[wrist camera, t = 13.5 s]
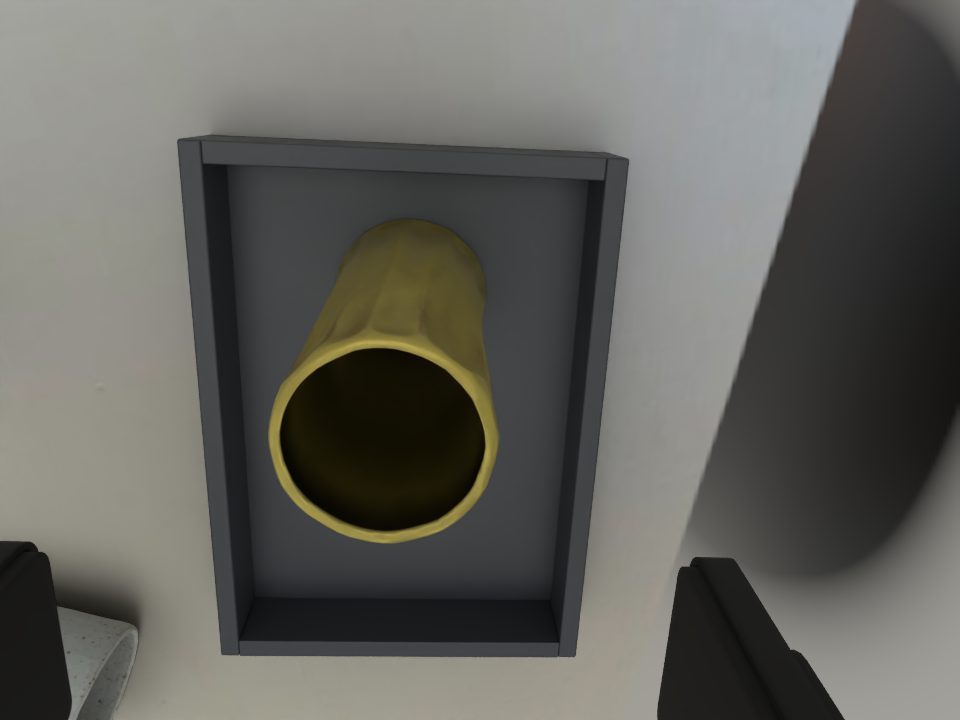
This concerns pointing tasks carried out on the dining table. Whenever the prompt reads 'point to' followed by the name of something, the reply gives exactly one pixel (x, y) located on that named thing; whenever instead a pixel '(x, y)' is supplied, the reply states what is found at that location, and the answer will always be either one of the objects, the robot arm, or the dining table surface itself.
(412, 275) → the vase
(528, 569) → the tray
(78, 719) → the ceramic mug
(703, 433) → the dining table surface
